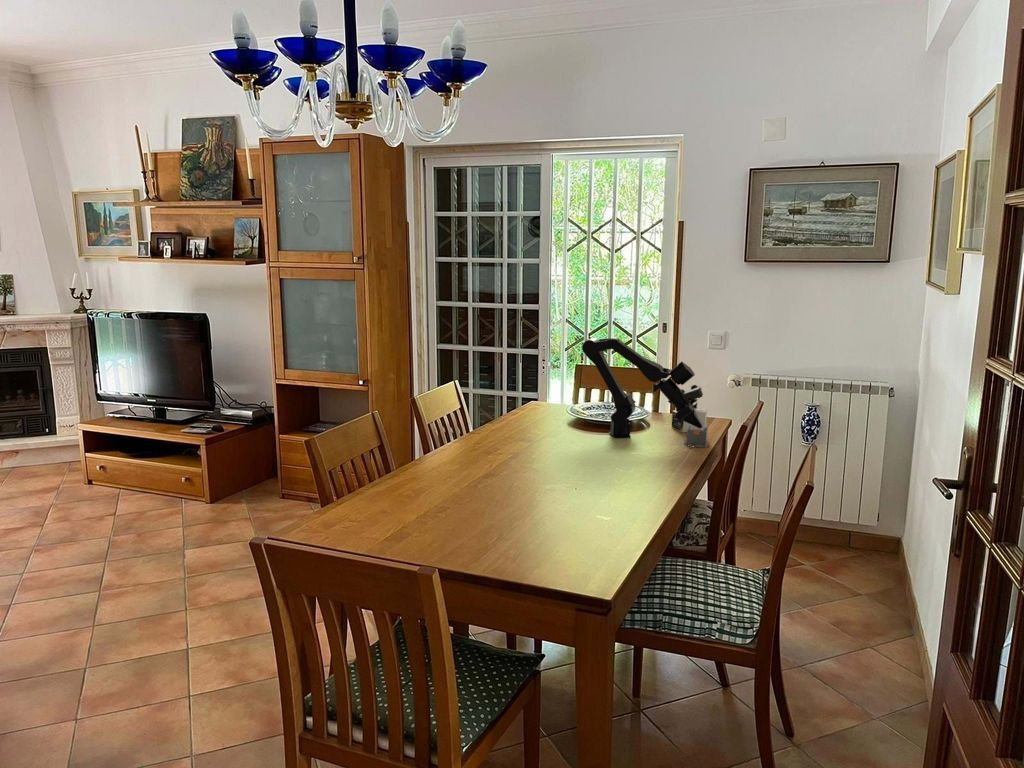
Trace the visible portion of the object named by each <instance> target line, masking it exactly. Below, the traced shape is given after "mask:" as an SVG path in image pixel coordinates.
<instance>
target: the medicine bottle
mask: <svg viewBox="0 0 1024 768" xmlns="http://www.w3.org/2000/svg"><path fill="white" fill-rule="evenodd" d="M693 404H694V405H695V402H694V403H693ZM676 412H677V411H676V409H675V410H672V412H671V413H672V414H671V415H672V416H671V417H672V418H671V429H673V430H676V431H678V432H680V433H687V430H688V428H689V426H690V424H689V423H687V422H685V421H682V420H680V421H678V420H677V419H676V418H675V414H676Z"/></svg>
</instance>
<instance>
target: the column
mask: <svg viewBox="0 0 1024 768" xmlns="http://www.w3.org/2000/svg"><path fill="white" fill-rule="evenodd" d="M693 409H694V408H693ZM695 416H696V417H697V419H698V420H699V422H700V423H701V425H702V428H698V427H696V426H694V425H691V424H690V430H695V431H704V432H705V430H706V427H707V416H708V408H699V407H697V408H695Z"/></svg>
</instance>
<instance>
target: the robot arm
mask: <svg viewBox="0 0 1024 768" xmlns="http://www.w3.org/2000/svg"><path fill="white" fill-rule="evenodd" d="M581 348H582V349H581V350H582V353H584V355H585V356H586V357H587V358H588V360H590V361H591V362H592V363H593V364H594V365H595V367H596V368H597V371H598V373H599V374H600V377H601V378H602V380H603V382H604V383H605V385H606V387H607V389H608V390H609V392H610V394H611V396H612V399H613V403H614V407H615V411H614V412H613V413H612V414H611V415H610V431H608V434H609V435H610V436H611V437H613V438H614V439H617V438H631V430H632V429H631V427H632V424H631V423H630V419H629V418H630V417H631V416H632V415H633V413H634V412H635V410H636V401H635V399H634V398H633V395H632V393H628V394H627V393H626V392H625V391H624V389H623V388H622V386H621V384H620V383H619V381H618V379H617V378H616V377H617V376H616V375H615V373H614V372H613V369H611V366H610V365H609V363H608V361H607V359H606V357H605V351H608V350H612V351H614V352H616V353H617V354H618V355H620V356H621V357H623V358H624V359H626V360H627V361H628V362H630V363H631V364H632V365H634V366H636V368H637V369H638V370H639V371H640V372H641V374H642V375H643V376H644V377H645V378H646V379H647V380H648V381H649V382H651V383H653V385H652V386H653V390H652V391H653V393H655V392H657V391H658V390H659V391H660V392H661V393H662V394H663V395H664V397H666V399H667V400H668V401H667V402H668V403H669V404H672V406H673V407H675V410H676V411H677V412H676V414H675V418H676V419H677V420H678V421H680V420H682V421H685V422H687V423H689V424H691V425H694V426H696V427H698V428H702V425H701V423H700V422H699V420H698V419H697V417H696V416H695V408H698V399H700V398H702V397H703V396H704V392H703V391H702V387H701V386H698V385H697V384H693V385H691V386H690V389H687V391H686V390H684V389H683V388H680V387H679V385H681V386H684V385H685V384H686V383H687V382H689V380H691V379H692V378H693V377H694V376H695V375H696V374H695V371H693V370H692V368H691V367H690V366H689V365H687V364H686V363H684V361H682V360H681V361H680V362H679V363H678V364H677V365H676V366H675V367H673V368H672V369H671V368H666V367H663V366H662V365H661V364H659V363H658V362H655V361H654V360H651V359H648V358H646V357H644V356H642V355H641V354H640V353H638V352H637V351H635V350H634V349H633V348H632V347H630V346H628V344H626V343H625V342H623V341H622V340H621V339H620V338H618V337H617V336H613V337H608V338H599V339H598V338H596V337H591V338H589V339H587V340H585V341H584V342H583V343H582V346H581ZM657 382H658V383H657ZM693 403H694V404H693ZM693 408H694V409H693Z"/></svg>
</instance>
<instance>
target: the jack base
mask: <svg viewBox="0 0 1024 768" xmlns="http://www.w3.org/2000/svg"><path fill="white" fill-rule="evenodd" d="M708 432H709V427H708V426H706V430H705V432H704V431H695V430H690V426H689V428H688V430H687V432H686V439H684V440H683V444H684V445H685V444H686V445H685V446H687V445H689V446H694V447H693V448H695V447H706V446H709V445H710V444H711V443H710V441H708V434H709V433H708ZM689 446H688V447H689ZM710 446H711V445H710ZM710 446H709V447H710ZM706 448H707V447H706Z"/></svg>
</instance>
